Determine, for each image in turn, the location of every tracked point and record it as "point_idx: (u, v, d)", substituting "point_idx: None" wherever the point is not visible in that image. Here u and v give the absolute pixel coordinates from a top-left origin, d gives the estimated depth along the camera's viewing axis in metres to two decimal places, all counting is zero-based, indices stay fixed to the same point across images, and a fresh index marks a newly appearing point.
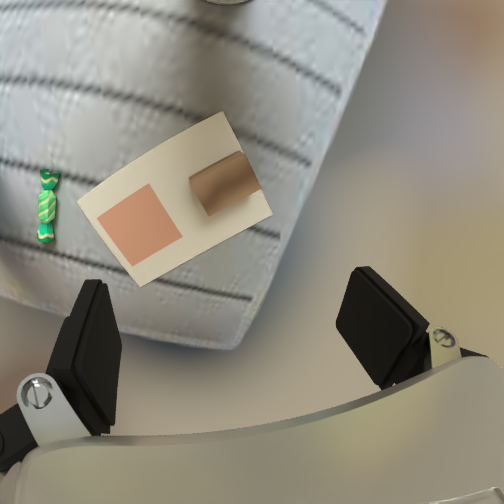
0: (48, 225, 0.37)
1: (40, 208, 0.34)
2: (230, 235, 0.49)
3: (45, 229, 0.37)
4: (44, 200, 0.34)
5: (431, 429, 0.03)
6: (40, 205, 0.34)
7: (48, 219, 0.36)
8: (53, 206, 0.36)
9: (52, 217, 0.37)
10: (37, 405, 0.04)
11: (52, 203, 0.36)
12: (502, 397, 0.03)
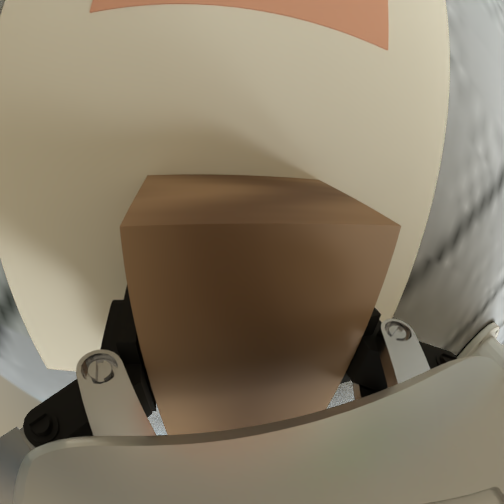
0: None
1: None
2: None
3: None
4: None
5: (431, 429, 0.03)
6: None
7: None
8: None
9: None
10: (96, 379, 0.05)
11: None
12: (502, 397, 0.03)
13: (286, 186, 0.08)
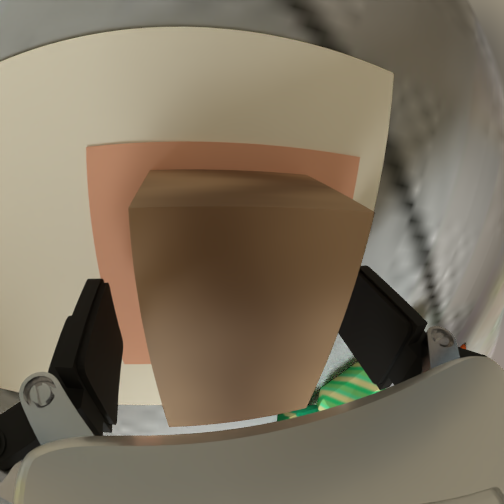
0: None
1: None
2: None
3: None
4: None
5: (431, 429, 0.03)
6: None
7: (375, 387, 0.16)
8: (343, 392, 0.17)
9: (367, 377, 0.17)
10: (39, 403, 0.04)
11: (339, 399, 0.17)
12: (502, 397, 0.03)
13: (274, 179, 0.09)
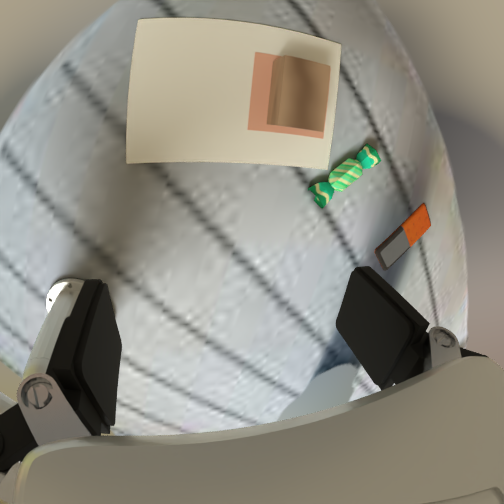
0: (360, 159, 0.37)
1: (352, 180, 0.37)
2: (202, 20, 0.25)
3: (366, 160, 0.37)
4: (342, 182, 0.37)
5: (431, 429, 0.03)
6: (350, 182, 0.37)
7: (355, 164, 0.36)
8: (340, 168, 0.37)
9: (350, 161, 0.37)
10: (37, 405, 0.04)
11: (338, 171, 0.37)
12: (502, 397, 0.03)
13: None
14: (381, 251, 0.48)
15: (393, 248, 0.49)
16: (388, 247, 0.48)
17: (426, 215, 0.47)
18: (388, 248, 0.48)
